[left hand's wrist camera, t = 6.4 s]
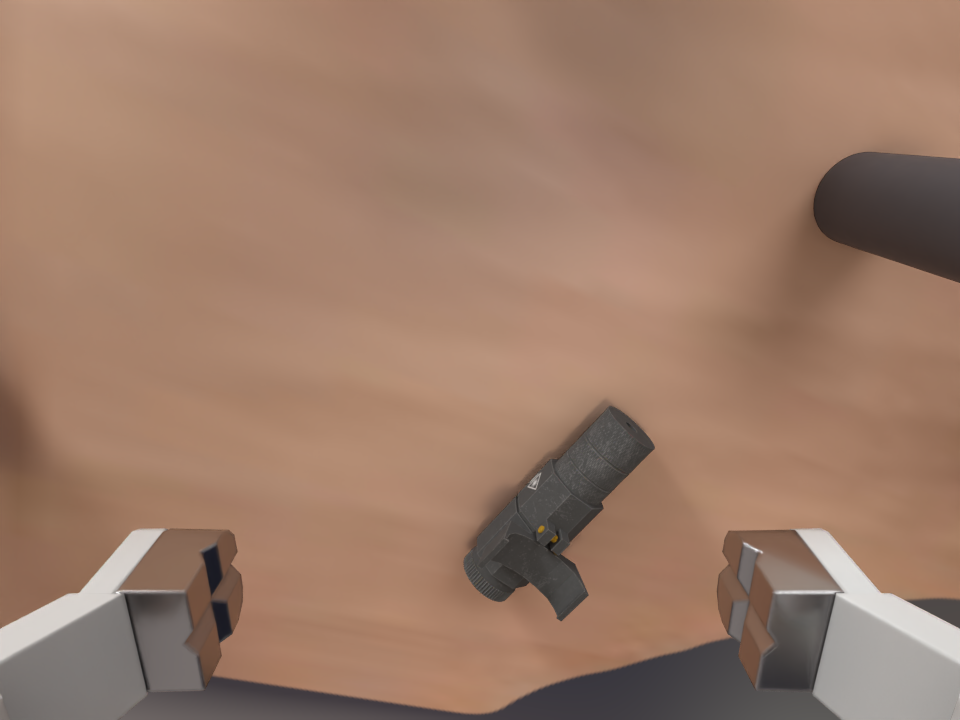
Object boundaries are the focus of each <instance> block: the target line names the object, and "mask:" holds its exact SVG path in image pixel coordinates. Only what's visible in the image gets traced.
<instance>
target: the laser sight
mask: <svg viewBox="0 0 960 720" xmlns="http://www.w3.org/2000/svg"><path fill="white" fill-rule="evenodd" d="M654 449H655V447H654V444H653V443H652V441H651V440H650V438H649V437H648V436H647V435H646V433H645V432H644V431H643V430H642V429H641V428H640V427H639V426H638V425H637V424H636V423H635V422H634V421H632V420H631V419H630V418H629V417H628V416H626V415H625V414H624V413H622V412H621V411H620V410H618V409H616V408H614V407H612V406H609V407H608V408H607V409H606V410H605V411H604V413H603V414H602V415H601V416H600V417H599V418H598V419H597V420H596V421H595V422H594V423H593V424H592V425H591V426H590V427H589V428H588V429H587V430H586V432H584V433H583V435H582V436H581V437H580V438H579V439H578V440H577V441H576V442H575V443H574V444H573V445H572V446H571V447H570V448H569V449H568V450H567V452H566V453H565V454H564V455H563V456H562V457H561V458H560V459H559V460H556V459H551V460H550V461H549V462H548V463H547V464H546V465H545V466H544V467H543V468H542V469H541V470H540V471H539V472H538V473H537V474H536V475H535V477H534V478H533V479H532V480H531V481H530V482H529V483H528V484H527V485H526V486H525V487H524V488H523V489H522V490H521V491H520V492H519V494H518V495H517V496H516V497H515V498H514V499H513V500H512V501H511V502H510V503H509V504H508V505H507V506H506V507H505V508H504V510H503V511H502V512H501V513H500V514H499V515H498V516H497V517H496V518H495V519H494V520H493V521H492V522H491V523H490V524H489V525H488V527H487V528H486V529H485V530H484V531H483V532H482V533H481V534H480V535H479V536H478V537H477V546H476V547H474V548H473V549H472V550H471V551H470V552H469V553H468V554H467V555H466V557H465V558H464V569H465V572H466V574H467V576H468V578H469V580H470V582H472V584H473V585H474V587H476V589H477V590H478V591H479V592H480V593H482V594H483V595H485V597H487V598H489V599H490V600H494V601H497V602H502V601H505V600H506V599H507V598H508V597H509V596H510V595H511V594H512V593H513V592H514V591H515V588H519V587H523V586H526V585H527V584H528V583H529V582H530V583H531V584H533V585H534V586H535V587H536V588H537V589H538V590H539V591H540V592H541V593H542V594H543V595H544V596H545V597H546V598H547V599H548V600H549V602H550V603H551V605H552V606H553V608H554V610H555V612H556V614H557V619H558V620H560V621H562V620H563V619H564V618H565V617H566V616H567V615H568V614H569V613H570V612H572V611H573V610H574V609H575V608H576V607H577V606H578V605H579V604H580V603H581V602H582V601H583V600H584V599H585V598H586V597H587V596H588V592H587V590H586V588H585V586H584V583H583V581H582V579H581V577H580V574H579V572H578V570H577V568H576V565H575V564H574V563H573V562H571V561H570V560H568V559H567V558H565V557H564V556H562V555H561V553H562V552H563V551H564V550H565V549H566V548H567V547H568V546H569V545H570V543H569V542H570V541H571V540H572V539H573V538H574V537H575V536H576V535H577V534H578V533H579V532H580V531H581V530H582V529H583V528H584V527H585V526H586V525H587V524H588V523H589V522H590V521H591V520H592V519H593V518H594V517H595V516H596V515H597V514H598V513H599V512H600V511H601V510H602V509H603V505H602V501H603V500H604V499H605V498H606V496H608V495H609V494H610V493H611V492H612V491H613V490H614V489H615V488H616V487H617V485H618V484H619V483H620V482H621V481H622V480H623V479H625V478H626V477H627V476H628V475H629V473H631V472H632V471H633V470H634V469H635V467H636V466H637V465H638V464H639V463H640V462H641V461H642V460H644V459H645V457H646V456H647V455H648V454H649V453H650V452H651V451H653V450H654Z"/></svg>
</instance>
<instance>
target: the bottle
mask: <svg viewBox="0 0 960 720" xmlns="http://www.w3.org/2000/svg"><path fill="white" fill-rule="evenodd" d="M814 214H815V219H816V222H817V224H818V226H819V228H820V229H821V231H822V232H823V233H824V234H825V235H826V236H827V237H829V238H830V239H832V240H834V241H836V242H839V243H842V244H845V245H848V246H851V247H854V248H857V249H860V250H863V251H866V252H869V253H872V254H875V255H878V256H881V257H884V258H887V259H890V260H893V261H896V262H899V263H902V264H905V265H908V266H911V267H914V268H917V269H920V270H923V271H926V272H929V273H932V274H935V275H938V276H941V277H944V278H947V279H950V280H953V281H956V282H959V283H960V159H956V158H943V157H930V156H916V155H903V154H890V153H876V152H863V153H858V154H854V155H851V156H849V157H847V158H845V159H843V160H841V161H840V162H838V163H837V164H836V165H835V166H833V167H832V168H831V169H830V170H829V171H828V173H827V174H826V175H825V176H824V178H823V179H822V181H821V183H820V185H819V187H818V189H817V192H816V195H815V200H814Z"/></svg>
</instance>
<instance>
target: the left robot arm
mask: <svg viewBox="0 0 960 720" xmlns="http://www.w3.org/2000/svg"><path fill="white" fill-rule="evenodd" d="M236 554H237V547H236V541H235V536H234V534H233V533H232V532H231V531H230V530H212V529H166V528H164V529H138V530H135V531H132V532H131V533H130V534H129V536H128V537H127V538H126V539H125V540H124V541H123V543H122V544H121V545H120V546H119V547H118V548H117V549H116V551H115V552H114V553H113V554H112V555H111V556H110V558H109V559H108V560H107V561H106V562H105V563H104V565H103V566H102V567H101V568H100V569H99V570H98V572H97V573H96V574H95V575H94V576H93V577H92V578H91V580H90V581H89V582H88V583H87V584H86V585H85V587H84V588H83V589H82V590H81V591H80V592H79V593H69V594H67V595H65V596H63V597H61V598H59V599H57V600H55V601H53V602H51V603H49V604H47V605H45V606H43V607H41V608H39V609H37V610H36V611H34V612H32V613H30V614H28V615H26V616H24V617H22V618H20V619H18V620H16V621H14V622H12V623H10V624H8V625H6V626H4V627H2V628H0V720H119V719H120V718H121V717H123V716H124V715H125V714H126V713H127V712H129V711H130V710H131V709H132V708H133V707H134V706H136V705H137V704H138V703H139V702H140V701H141V700H143V699H144V698H145V697H146V696H147V692H171V691H204V690H205V689H206V687H207V684H208V682H209V680H210V678H211V676H212V674H213V672H214V670H215V668H216V666H217V664H218V662H219V660H220V658H221V656H222V655H221V649H220V642H222V641H223V640H225V639H226V638H227V637H229V636H230V635H232V633H233V631H234V629H235V627H236V625H237V622H238V620H239V616H240V611H241V607H242V602H243V585H242V578H241V574H240V573H239V572H238V571H237V570H236V569H235V568H234V567H233V566H232V565H231V563H232V561H233V559H234V557H235V555H236ZM723 554H724V555H725V557H726V559H727V561H728V563H729V565H728V566H727V567H726V568H725V569H724V570H723V571H722V572H721V573H720V574H719V578H718V587H717V598H718V609H719V613H720V616H721V620H722V623H723V625H724V627H725V629H726V631H727V633H728V635H730V636H731V637H733V638H734V639H735V640H737V641H738V642H740V643H741V644H740V649H739V655H738V656H739V658H740V660H741V662H742V664H743V666H744V668H745V670H746V672H747V674H748V676H749V678H750V680H751V682H752V684H753V686H754V688H755V690H756V691H788V692H813V694H812V695H813V696H814V697H815V698H816V699H818V700H819V701H820V702H821V703H822V704H823V705H825V706H826V707H827V708H828V709H829V710H831V711H832V712H833V713H834V714H835V715H836V716H838V717H839V718H840V719H841V720H960V629H959V628H957V627H955V626H953V625H952V624H950V623H948V622H946V621H944V620H942V619H940V618H938V617H936V616H934V615H932V614H930V613H928V612H926V611H924V610H922V609H920V608H919V607H917V606H915V605H913V604H911V603H909V602H907V601H905V600H903V599H901V598H899V597H897V596H895V595H893V594H891V593H881V592H880V591H879V590H878V589H877V588H876V587H875V585H874V584H873V583H872V582H871V581H870V580H869V579H868V577H867V576H866V575H865V574H864V573H863V572H862V570H861V569H860V568H859V567H858V566H857V565H856V563H855V562H854V561H853V560H852V559H851V558H850V556H849V555H848V554H847V553H846V552H845V551H844V550H843V548H842V547H841V546H840V545H839V544H838V543H837V541H836V540H835V539H834V538H833V537H832V536H831V534H830V533H829V532H828V531H826V530H824V529H821V528H808V529H790V530H739V531H728V533H727V535H726V537H725V540H724V546H723Z"/></svg>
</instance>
